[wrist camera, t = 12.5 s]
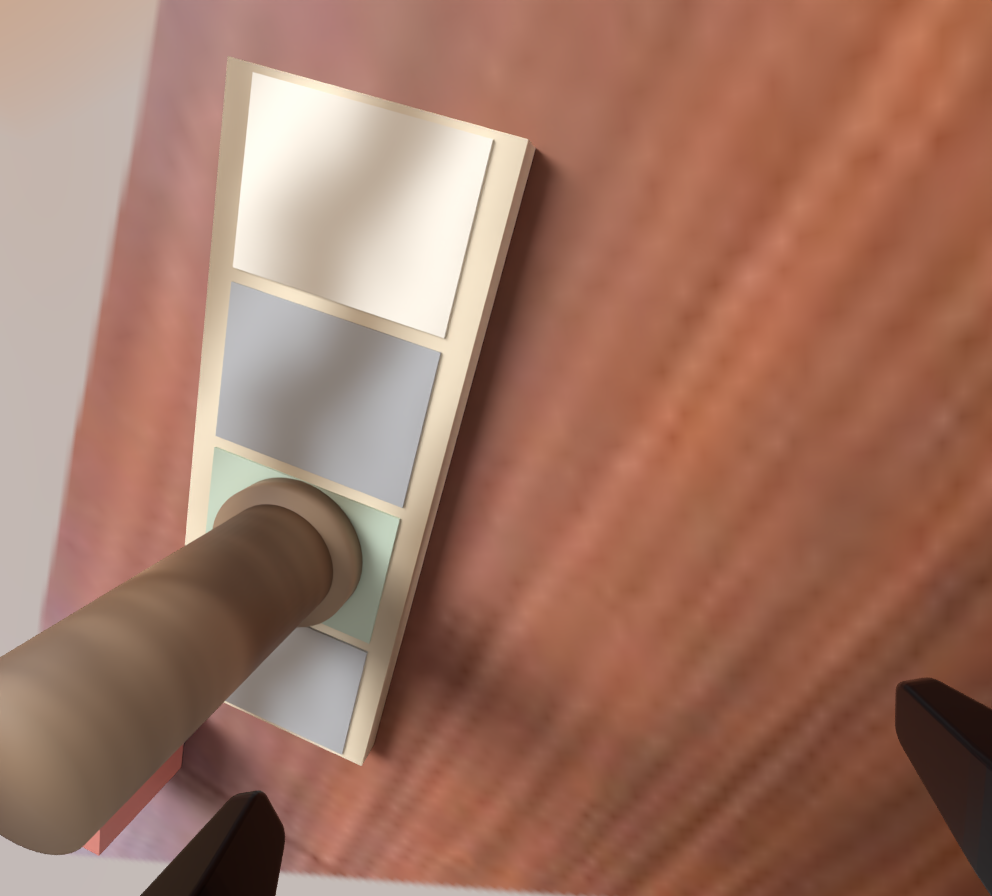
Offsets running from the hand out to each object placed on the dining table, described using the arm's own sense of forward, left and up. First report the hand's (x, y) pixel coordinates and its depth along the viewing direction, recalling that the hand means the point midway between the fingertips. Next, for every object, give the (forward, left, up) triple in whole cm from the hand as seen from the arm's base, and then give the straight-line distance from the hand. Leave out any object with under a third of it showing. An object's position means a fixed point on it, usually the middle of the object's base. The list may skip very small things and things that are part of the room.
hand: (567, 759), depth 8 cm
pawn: (+11, +7, -11) cm, 17 cm away
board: (+11, +4, -13) cm, 17 cm away
